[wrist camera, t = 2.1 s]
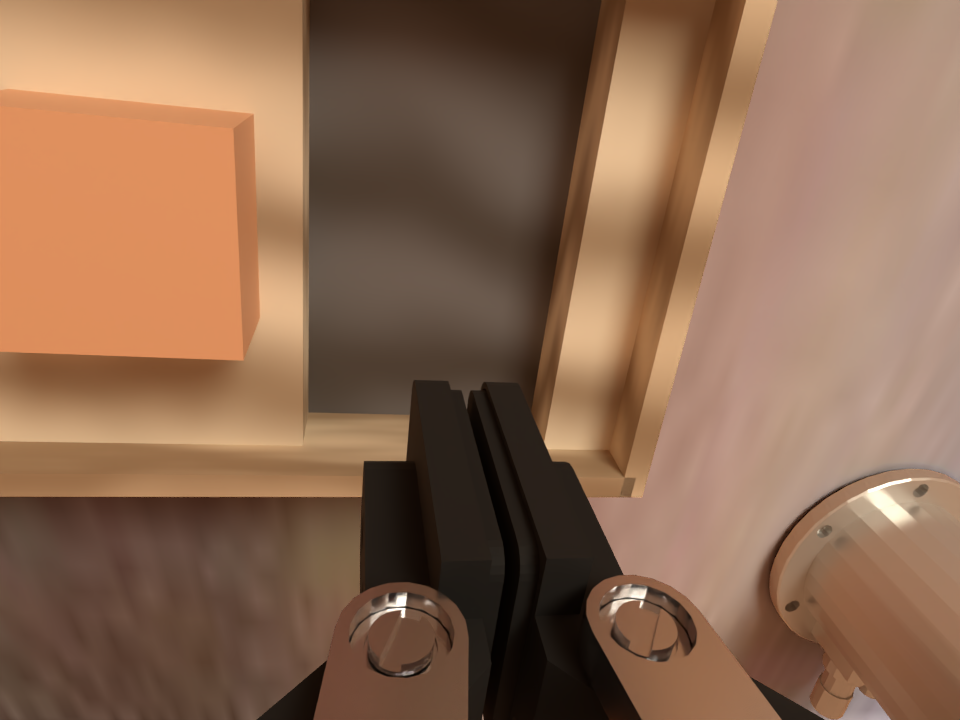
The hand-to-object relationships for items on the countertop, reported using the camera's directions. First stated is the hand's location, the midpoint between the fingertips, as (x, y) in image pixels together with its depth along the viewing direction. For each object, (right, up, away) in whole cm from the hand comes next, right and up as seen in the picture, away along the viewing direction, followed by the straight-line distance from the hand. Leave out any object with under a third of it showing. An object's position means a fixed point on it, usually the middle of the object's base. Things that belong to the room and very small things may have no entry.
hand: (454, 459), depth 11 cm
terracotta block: (-11, +6, +11) cm, 17 cm away
